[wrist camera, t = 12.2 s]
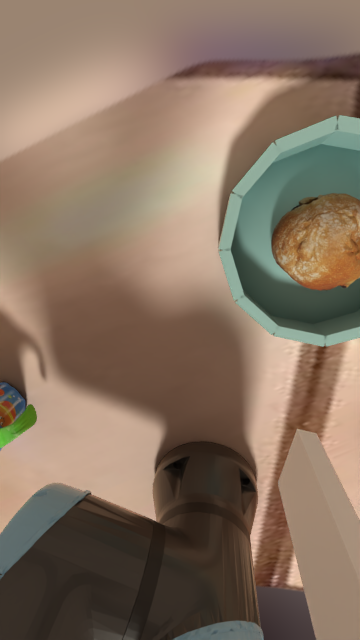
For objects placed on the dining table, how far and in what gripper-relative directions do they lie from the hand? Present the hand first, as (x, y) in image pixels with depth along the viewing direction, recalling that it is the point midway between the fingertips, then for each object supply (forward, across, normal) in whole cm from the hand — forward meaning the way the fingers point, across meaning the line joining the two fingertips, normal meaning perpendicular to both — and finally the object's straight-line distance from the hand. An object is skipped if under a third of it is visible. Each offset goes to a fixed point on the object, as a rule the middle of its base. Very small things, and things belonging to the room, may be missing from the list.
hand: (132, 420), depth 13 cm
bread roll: (+26, -13, -9) cm, 31 cm away
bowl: (+27, -13, -9) cm, 31 cm away
